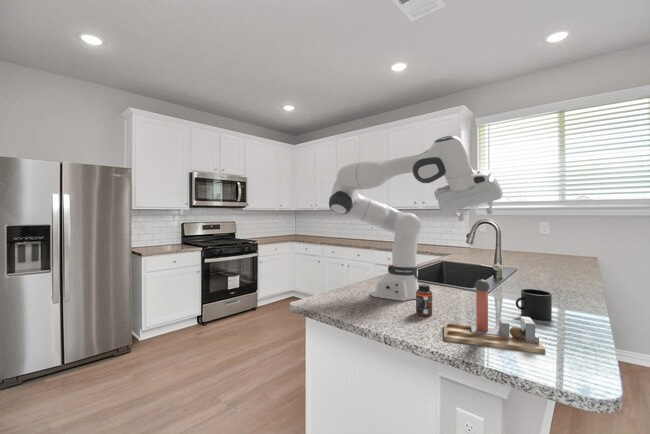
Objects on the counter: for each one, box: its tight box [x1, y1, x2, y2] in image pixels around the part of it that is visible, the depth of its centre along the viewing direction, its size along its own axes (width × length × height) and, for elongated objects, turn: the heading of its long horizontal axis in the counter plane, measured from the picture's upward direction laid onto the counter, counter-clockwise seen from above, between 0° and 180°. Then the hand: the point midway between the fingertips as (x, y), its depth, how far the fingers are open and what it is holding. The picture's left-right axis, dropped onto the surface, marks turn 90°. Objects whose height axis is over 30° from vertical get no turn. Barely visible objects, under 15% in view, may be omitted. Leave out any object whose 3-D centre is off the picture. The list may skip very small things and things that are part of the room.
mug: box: [515, 288, 553, 321], centre depth 114 cm, size 9×12×9 cm
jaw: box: [520, 315, 540, 345], centre depth 91 cm, size 3×6×6 cm, turn 159°
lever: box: [470, 279, 510, 340], centre depth 94 cm, size 10×5×17 cm, turn 69°
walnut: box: [509, 325, 523, 339], centre depth 92 cm, size 3×3×3 cm
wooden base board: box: [443, 322, 546, 355], centre depth 94 cm, size 26×12×2 cm, turn 69°
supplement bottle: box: [415, 283, 433, 317], centre depth 117 cm, size 6×6×11 cm
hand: (475, 216), depth 107 cm, fingers open, 8 cm apart
